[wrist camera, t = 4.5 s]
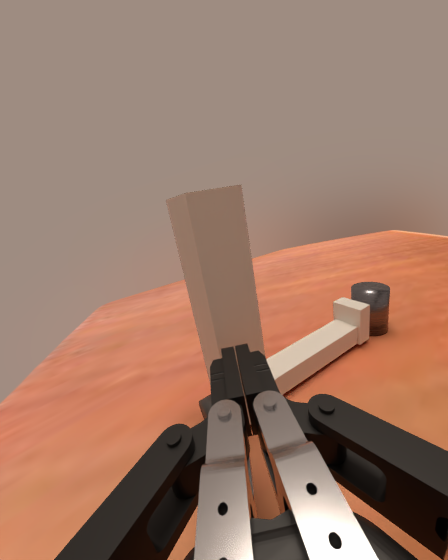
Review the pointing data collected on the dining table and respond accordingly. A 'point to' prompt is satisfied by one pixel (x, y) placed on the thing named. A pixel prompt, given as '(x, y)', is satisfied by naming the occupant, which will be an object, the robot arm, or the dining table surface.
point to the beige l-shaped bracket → (245, 291)
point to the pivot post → (374, 304)
